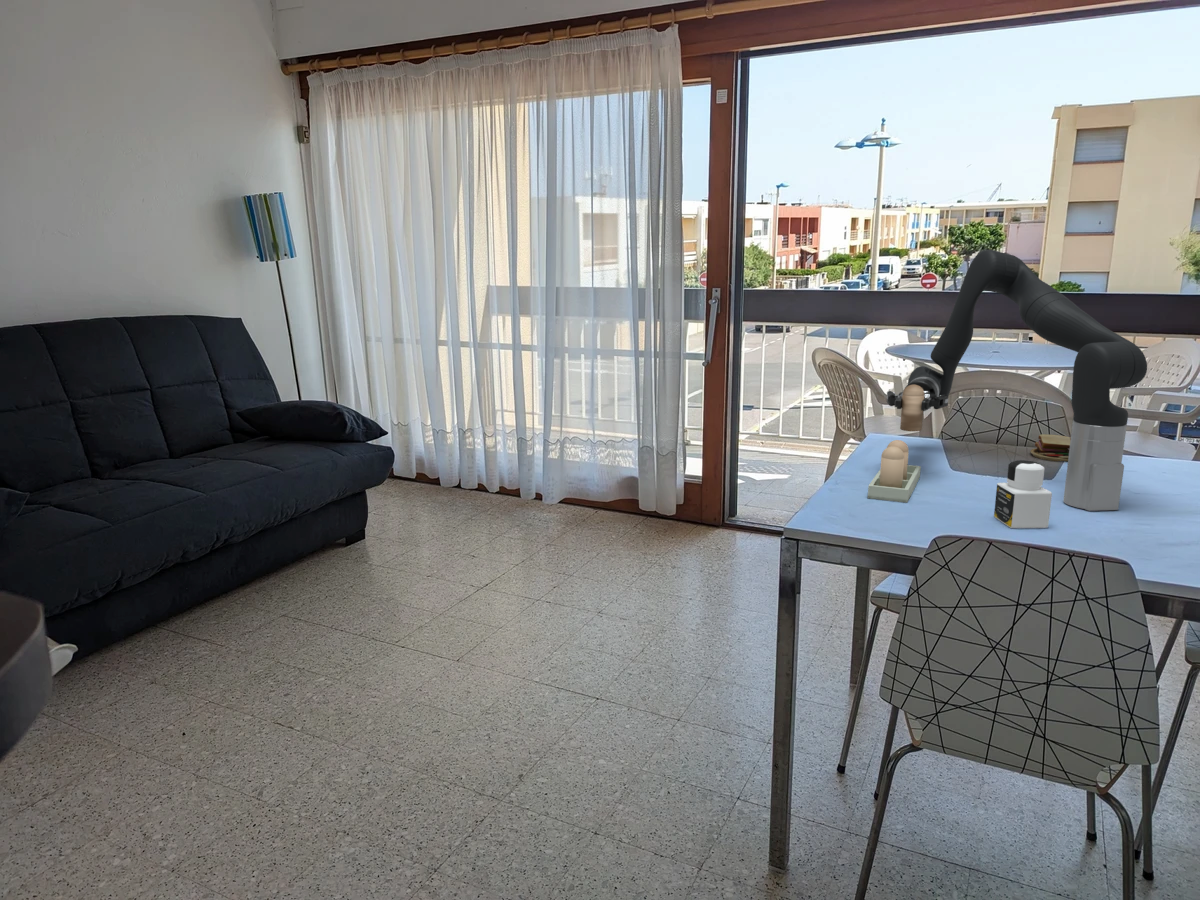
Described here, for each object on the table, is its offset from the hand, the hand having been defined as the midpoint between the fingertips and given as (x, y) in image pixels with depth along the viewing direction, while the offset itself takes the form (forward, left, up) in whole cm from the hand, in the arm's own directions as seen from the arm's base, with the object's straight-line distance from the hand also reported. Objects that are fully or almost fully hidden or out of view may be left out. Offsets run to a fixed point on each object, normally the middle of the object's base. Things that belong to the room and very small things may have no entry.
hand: (911, 405), depth 176 cm
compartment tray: (-3, +4, -18) cm, 19 cm away
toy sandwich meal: (+21, -48, -19) cm, 56 cm away
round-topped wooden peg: (+2, -1, -6) cm, 7 cm away
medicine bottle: (-29, -10, -18) cm, 36 cm away
